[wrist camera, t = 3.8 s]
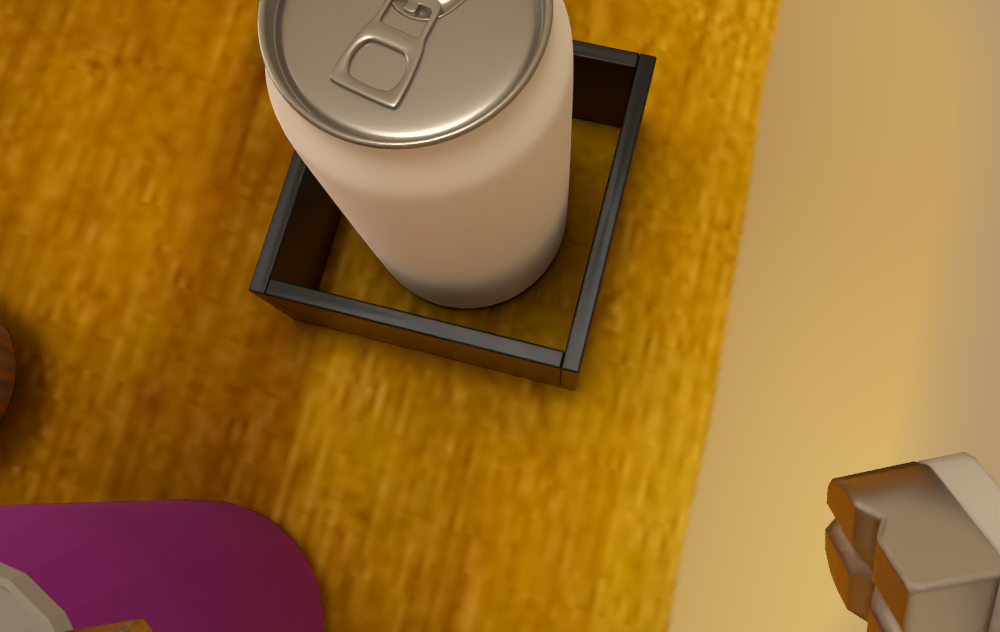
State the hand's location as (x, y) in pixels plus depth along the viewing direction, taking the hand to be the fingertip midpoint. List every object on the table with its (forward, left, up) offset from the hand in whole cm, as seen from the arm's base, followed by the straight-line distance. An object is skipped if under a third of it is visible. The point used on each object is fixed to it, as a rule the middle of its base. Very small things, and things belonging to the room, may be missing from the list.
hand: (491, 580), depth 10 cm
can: (+6, +8, -16) cm, 19 cm away
